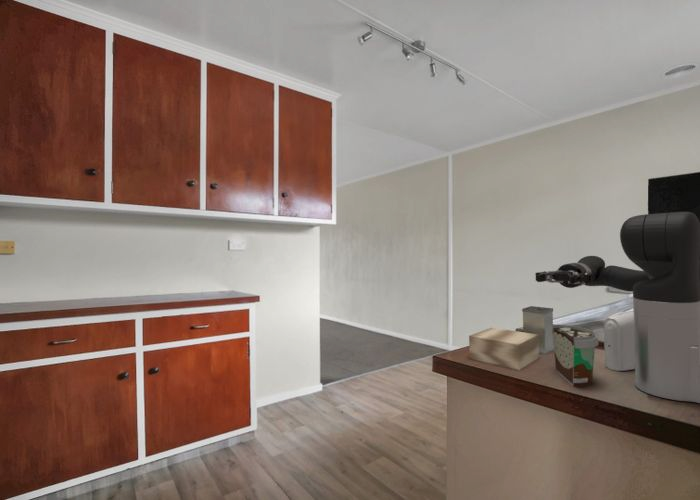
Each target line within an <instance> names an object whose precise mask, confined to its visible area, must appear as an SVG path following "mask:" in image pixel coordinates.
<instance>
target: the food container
mask: <svg viewBox="0 0 700 500" xmlns="http://www.w3.org/2000/svg"><path fill="white" fill-rule="evenodd" d="M552 333H553V344H554V350H553V357H554V358H553V359H554V371H556V372H557V373H558V374H559V375H560V376H561V378H563V379H564V380H565V381H566V382H567V383H569V384H570V386H572V387H573V388H574V387H575V388H577V387H579V388H581V387H587V386H590V385H592V383H593V381H594V380H593V377H594V363H595V361H594V360H595V347H597V346H599V345H600V344H599V340H598V336H597V335H596V332H595V331H593V330H591V329H588V328H586V327H580V326H574V325H567V324H554V323H553V324H552Z"/></svg>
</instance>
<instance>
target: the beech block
mask: <svg viewBox="0 0 700 500" xmlns="http://www.w3.org/2000/svg"><path fill="white" fill-rule="evenodd" d="M468 340H469V341H468V342H469V343H468V345H469V346H468V347H469V359H471V360H474V361H478V362H482V363H487V364H491V365H495V366H501V367H504V368H509V369H513V370H518V371H520V370H522V369H523V368H525V367H527V366H528V365H530V364H531V363H533V362H535V361H536V360H538V359H539V358H540V353H539V339H538V335H537V334H531V333H524V332H522V331H516V330H509V329H504V328H497V327H489V328H486V329H484V330H481V331H478V332H475V333H473V334H471V335H470V334H469V336H468Z"/></svg>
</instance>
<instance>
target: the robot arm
mask: <svg viewBox="0 0 700 500" xmlns="http://www.w3.org/2000/svg"><path fill="white" fill-rule="evenodd" d="M619 239H620V244H621V247H622V250H623V252H624V254H625V255H626V257H627V258H628V260H630V262H632V263H633V264H634V265H636V266H637V267H638V268H640V269H641V270H640V269H639V270H638V269H632V268H628V267H623V266H618V265H607V266H606V262H605V260H604V259H603V258H602V257H599V256H597V255H587V256H583V257H581V258H580V259H579V260H578V261H577V262H571V263H565V264H562V265H560V266H559V268H557V269H556V270H551V271H550V270H549V271H540V272H535V282H537V283H543V282H547V283H550V284H552V283H553V284H555V283H558V284H560V285H561V286H563V287H565V288H569V289H572V288H573V289H574V288H578V287H581V286H586V287H609V288H613V289H616V290H620V291H623V292H632V297H633V298H632V303H633V307H632V309H633V312H634V350H635V369H634V378H635V381H634V382H635V384H634V385H635V387H636V388H637V389H638V390H640V391H642V392H644V393H647V394H649V395H651V396H654V397H655V396H656V397H658V398H663V399H667V400H672V401H678V402H679V401H680V402H692V403H697V404H700V220H699V218H698V217H697V215H696V214H695V213H694V212H690V211H677V212H676V211H675V212H672V211H671V212H661V213H649V214H648V213H647V214H640V215H639V214H638V215H634V216H631V217H628V218H626V220H624V222H623V224H622V225H621V228H620V231H619Z"/></svg>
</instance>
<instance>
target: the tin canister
mask: <svg viewBox="0 0 700 500" xmlns="http://www.w3.org/2000/svg"><path fill="white" fill-rule="evenodd" d="M521 311H522V331H523V332H524V333H531V334H537V335H538V339H539V354H542V355H543V354H544V355H546V354H548V353H551V352H552V351H554V344H553V333H552V324H554V313H553V312H554V308H553V307H545V306H544V307H543V306H534V305H532V306H531V305H530V306H527V307H524V308H522V309H521Z"/></svg>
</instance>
